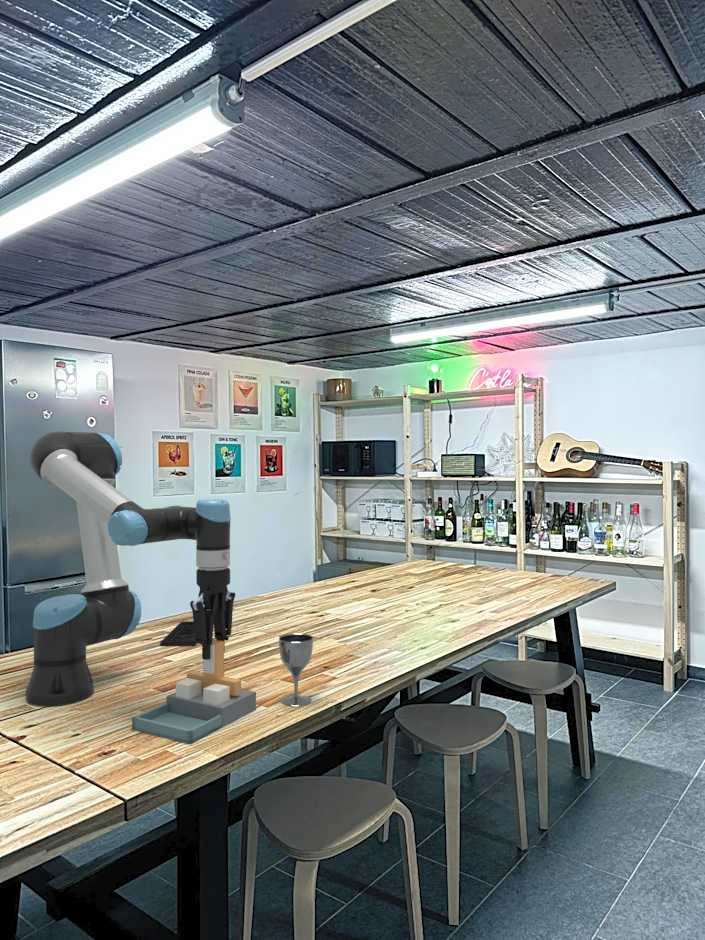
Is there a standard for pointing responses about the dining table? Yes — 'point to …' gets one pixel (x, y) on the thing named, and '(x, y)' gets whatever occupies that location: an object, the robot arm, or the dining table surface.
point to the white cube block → (188, 688)
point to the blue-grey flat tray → (174, 725)
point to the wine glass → (295, 662)
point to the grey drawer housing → (213, 706)
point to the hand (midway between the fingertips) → (213, 670)
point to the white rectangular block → (216, 694)
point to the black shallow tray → (181, 635)
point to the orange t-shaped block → (217, 672)
